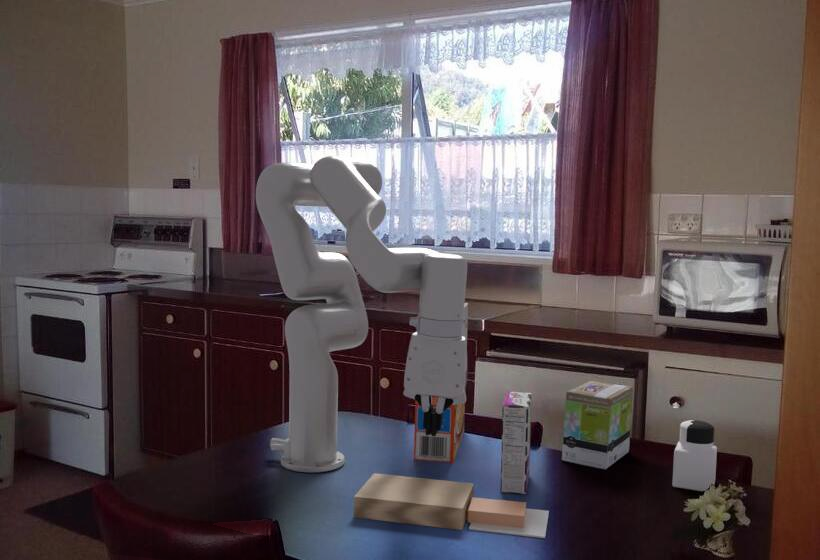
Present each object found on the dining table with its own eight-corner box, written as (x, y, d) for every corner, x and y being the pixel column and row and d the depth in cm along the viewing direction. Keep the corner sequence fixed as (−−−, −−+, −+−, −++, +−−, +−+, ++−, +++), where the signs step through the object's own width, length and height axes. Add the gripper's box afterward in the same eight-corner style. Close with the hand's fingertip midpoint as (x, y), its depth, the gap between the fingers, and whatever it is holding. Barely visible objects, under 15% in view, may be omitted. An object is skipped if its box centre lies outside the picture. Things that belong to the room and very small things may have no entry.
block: (467, 522, 126) (468, 510, 126) (472, 508, 132) (472, 497, 132) (523, 528, 124) (524, 515, 124) (525, 514, 130) (526, 502, 130)
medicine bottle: (715, 482, 150) (718, 420, 149) (712, 493, 143) (716, 429, 142) (676, 475, 153) (679, 415, 152) (672, 487, 146) (675, 424, 145)
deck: (353, 517, 128) (354, 496, 127) (373, 492, 139) (374, 473, 139) (462, 529, 124) (462, 508, 123) (473, 503, 135) (473, 483, 135)
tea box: (608, 471, 155) (612, 397, 153) (560, 461, 160) (563, 390, 159) (630, 452, 167) (633, 384, 166) (585, 444, 173) (588, 378, 171)
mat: (468, 529, 124) (468, 527, 124) (478, 504, 135) (478, 503, 134) (545, 538, 121) (545, 536, 121) (548, 512, 132) (548, 510, 132)
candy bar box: (503, 473, 151) (506, 390, 150) (529, 475, 151) (532, 392, 149) (498, 493, 141) (501, 404, 139) (526, 495, 140) (530, 406, 138)
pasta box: (453, 462, 157) (457, 315, 155) (413, 459, 158) (417, 313, 156) (464, 432, 180) (468, 303, 177) (429, 429, 181) (433, 301, 178)
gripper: (391, 326, 128) (383, 433, 130) (481, 336, 125) (471, 446, 127) (402, 319, 135) (395, 421, 138) (487, 328, 132) (478, 433, 134)
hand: (431, 433), depth 132 cm, fingers closed
